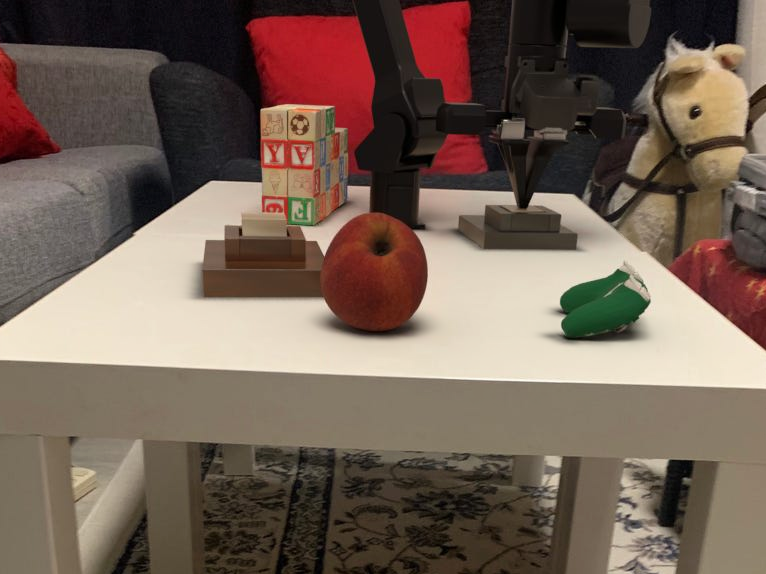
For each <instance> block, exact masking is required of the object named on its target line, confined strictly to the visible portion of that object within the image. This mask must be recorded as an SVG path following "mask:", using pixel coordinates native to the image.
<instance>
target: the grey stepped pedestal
mask: <svg viewBox="0 0 766 574" xmlns="http://www.w3.org/2000/svg"><path fill="white" fill-rule="evenodd" d="M502 206H517V204H485V206H484V214H459V215H458V224H457V231H458V232H460V233H461V234H463V235H464V236H465V237H467V238H468V239H469V240H470V241H472V242H473V243H475V244H476V245H477V246H478V247H480V248H482V250H528V251H529V250H531V251H532V250H538V251H540V250H543V251H544V250H548V251H549V250H551V251H552V250H553V251H554V250H556V251H576V250H577V244H578V236H579V234H578V232H575V231H573V230H571V229H570V228H568V227H565V226H564V225H562V224H561V223H562V214H561V213H559V212H557V211H555V210H553V209H550V208H548V207H547V206H544V205H535V204H533V205H530V204H529V205H528V206H534V207H536V208H539V209H541V210H543V211H544V213H537V212H508V211H506V210H504V209H502Z"/></svg>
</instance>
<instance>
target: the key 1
mask: <svg viewBox="0 0 766 574" xmlns="http://www.w3.org/2000/svg"><path fill="white" fill-rule="evenodd" d="M240 214H241V226H242V236H287V226H288V224H287V219H286V217H285V214H284V213H264V212H262V211H260V212H257V211H256V212H255V211H253V212H252V211H251V212H249V211H248V212H247V211H243V212H241V213H240Z"/></svg>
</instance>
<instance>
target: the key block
mask: <svg viewBox="0 0 766 574" xmlns="http://www.w3.org/2000/svg"><path fill="white" fill-rule="evenodd" d="M223 235H224V239H205V241H204V250H203V251H204V252H203V259H202V260H203V261H202V269H201V270H202V271H201V273H202V292H203V293H202V294H203V298H324V297H323V294H322V289H321V281H320V278H321V268H322V264H323V260H324V257H325V254H324V253H323V251H322V248H321V247H320V245H319V243H318V241H317V240H307V238H306V236H305V234H304V232H303V229H302V227H301V226H300V225H287V236H242V225H239V224H238V225H236V224H235V225H232V224H231V225H227V224H226V225H224V234H223Z"/></svg>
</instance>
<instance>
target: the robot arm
mask: <svg viewBox="0 0 766 574" xmlns="http://www.w3.org/2000/svg"><path fill="white" fill-rule="evenodd" d="M352 4H353V7H354V10H355V14H356V17H357V21H358V24H359V25H358V26H359V28H360V32H361V35H362V38H363V43H364V45H365V49H366V52H367V56H368V59H369V60H368V61H369V63H370V66H371V70H372V73H373V78H374V86H373V91H372V92H373V93H372V99H371V105H370V111H371V118H372V125H373V128H372V129H371V130H370V131H369V133H368V134H367V135H366V136H365V137H364V138H363V140H362V141H360V143H359V145H357V147H356V148H355V149H354V151H353V153H354V158H355V163H356V166H357V169H358V170H359V171H366V172H370V175H369V177H370V178H369V211H368V213H383V214H386V215H389V216H391V217H393V218H395V219H398V220H400V221H401V222H403V223H404V224H405V225H407V226H408V227H409V228H410V229H426V228H427V227H426V226H427V225H426V222H424V221H423V220H422V219H420V218H419V214H420V211H419V210H420V195H421V194H420V193H421V192H420V191H421V189H420V188H421V170H423V169H427V170H428V169H432V168H433V165H434V163H435V160H436V157H437V154H438V152H439V151H440V150H441V149H442V147H444V145H445V143H446V141H447V137H448V136H449V135H452V136H453V135H456V136H457V135H459V136H478V135H480V134H481V133H482V132H483V131H484V130H491V132H492V135H488V137H487V138H488V142H489V143H493V144H497V146H498V149H499V152H500V154H501V157H502V159H503V161H504V164H505V167H506V170H507V174H508V177H509V181H510V185H511V188H512V192H513V196H514V199H515V203H516V204H515V205H517V207H518V208H520V209H527V208H528V205H530V203H531V200H532V198H533V196H534V194H535V191H536V190H537V187H538V185H539V182H540V181H541V178H542V176H543V173H544V171H545V169H546V168H547V166H548V164H549V162H550V160H551V159H552V158H553V156H554V155H555V154H556V153H557V152H558V151H559V149H561V148H564V147H565V148H567V147H568V148H569V146H570V143H571V141H569V140H567V139H566V137H567V135H568V132H575V134H576V135H588V136H589V135H590V136H591V135H592V136H593V137H594V138H595V139H600V140H601V139H602V140H604V139H605V140H624V139H625V136H626V130H627V129H626V128H627V119H626V115H625V112H624V111H623V110H622V109H620V108H613V107H612V108H611V107H604V106H603V107H600V106H599V107H598V104H599V99H600V87H601V86H600V85H601V80H600V79H599V78H598V77H597V76H596V75H578V76H576V79H570V76H569V69H570V64H569V60H570V59H569V57H566V56H567V55H566V54H567V46H568V45H567V44H568V35H571V36H573V39H574V41H575V43H576V45H577V46H579V47H581V48H612V49H613V48H619V49H638V48H639V47H640V46H641V45H642V44H643V43H644V41H645V39H646V37H647V33H648V30H649V26H650V22H651V16H652V8H651V7H650V0H511V11H510V13H511V14H510V25H509V35H508V45H507V47H508V49H507V55H506V56H504V57H505V58H504V68H506V73H505V74H506V75H505V85H504V96H503V99H501V106H500V110H488V109H486V105H485V104H480V103H474V102H447V101H446V97H445V90H444V85H443V82H442V80H441V78H437V77H425V75H424V74H423V73H422V71H421V70H420V68H419V66H418V64H417V60H416V57H415V54H414V53H415V52H414V49H413V46H412V42H411V40H410V35H409V32H408V28H407V25H406V20H405V17H404V14H403V11H402V5H401V3H400V0H352ZM518 114H521V115H522V117H513V116H518ZM526 131H533V136H527V137H526V139H525V133H526Z"/></svg>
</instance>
